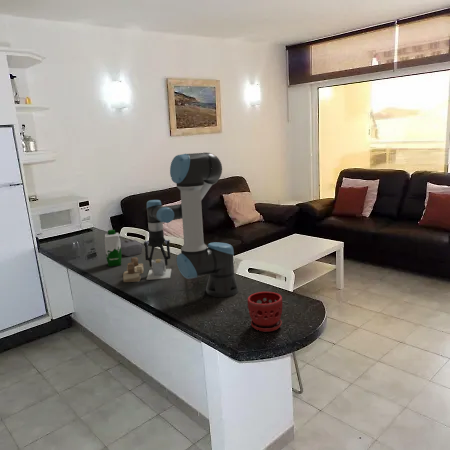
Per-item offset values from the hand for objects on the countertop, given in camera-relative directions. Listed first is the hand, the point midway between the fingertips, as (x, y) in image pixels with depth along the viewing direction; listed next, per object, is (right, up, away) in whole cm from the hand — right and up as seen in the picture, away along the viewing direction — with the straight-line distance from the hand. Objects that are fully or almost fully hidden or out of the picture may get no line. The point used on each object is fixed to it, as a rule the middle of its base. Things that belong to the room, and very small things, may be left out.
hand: (159, 271), depth 218 cm
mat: (0, -2, 0) cm, 2 cm away
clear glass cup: (0, -1, 0) cm, 1 cm away
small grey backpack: (-27, +7, +46) cm, 53 cm away
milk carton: (-30, +2, +21) cm, 36 cm away
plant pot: (+51, -14, -62) cm, 81 cm away
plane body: (-13, -2, 0) cm, 14 cm away
